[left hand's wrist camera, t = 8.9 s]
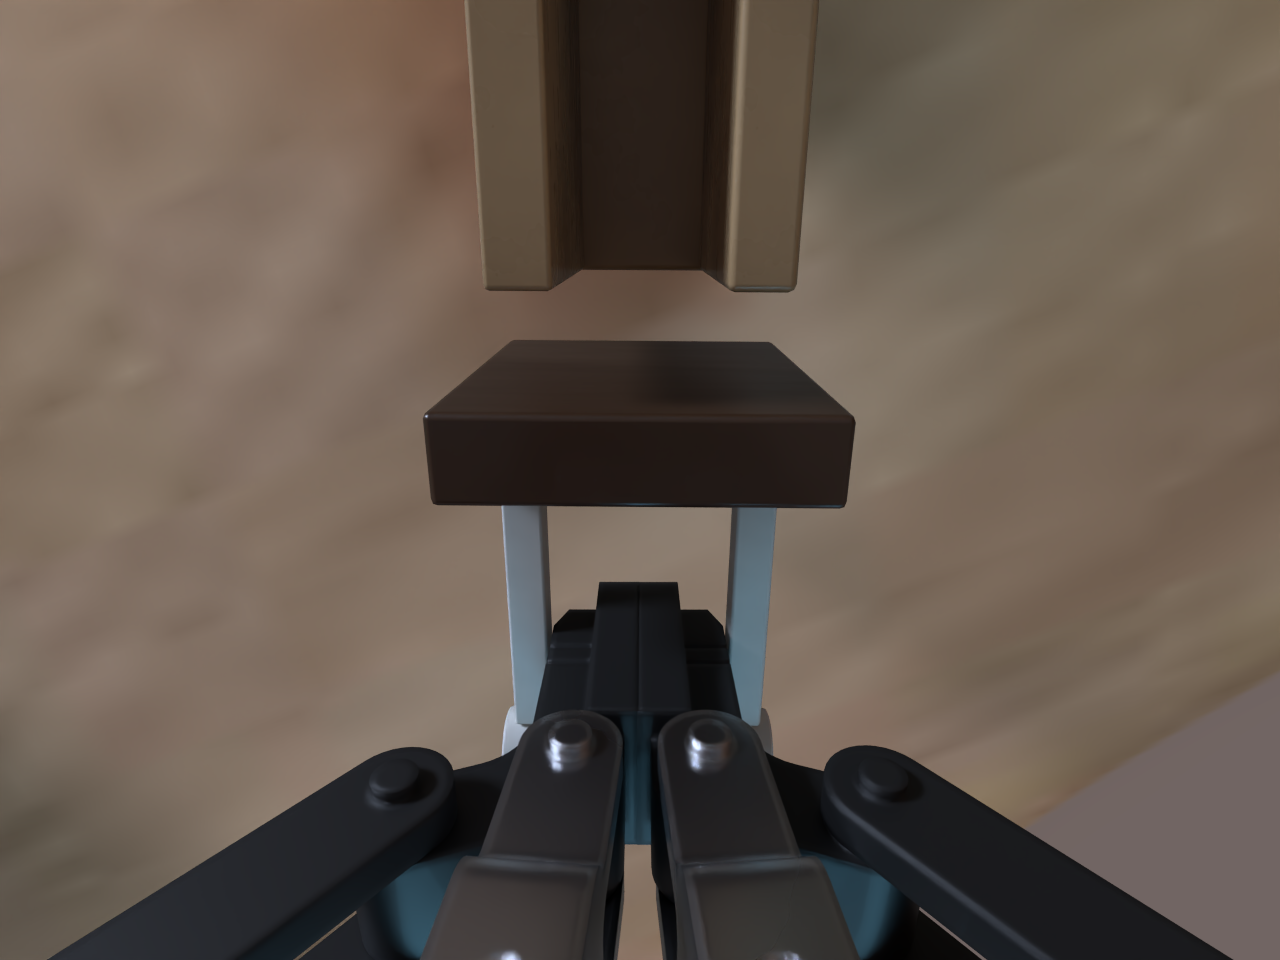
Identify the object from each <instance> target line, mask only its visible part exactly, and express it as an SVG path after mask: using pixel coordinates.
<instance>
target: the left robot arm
mask: <svg viewBox="0 0 1280 960" xmlns="http://www.w3.org/2000/svg"><path fill="white" fill-rule="evenodd" d="M625 844H637V845H651V868H652V875H653V878H654V881H655V883H656V903H657V911H658V920H659V929H660V938H661V946H662V955H663V960H981V959H980V958H979V957H978V956H976V955H975V954H974V953H973V952H971V951H970V950H969V949H968V948H966V947H965V946H964V945H963V944H961V943H960V942H959V941H958V940H956V939H955V938H954V937H953V936H951V935H950V934H949V933H947V932H946V931H945V930H944V929H942V928H941V927H940V926H939V925H937V924H936V923H935V922H934V921H932V920H931V919H930V918H929V917H927V916H926V915H925V914H923V913H922V912H921V911H920V910H919V907H921V908H922V909H923V910H925V911H926V912H927V913H928V914H930V915H931V916H932V917H934V918H935V919H936V920H937V921H939V922H940V923H941V924H942V925H944V926H945V927H946V928H947V929H949V930H950V931H951V932H953V933H954V934H955V935H956V936H958V937H959V938H960V939H962V940H963V941H964V942H965V943H967V944H968V945H969V946H970V947H972V948H973V949H974V950H975V951H977V952H978V953H979V954H981V955H982V956H983V957H984V958H986V959H987V960H1233V959H1231V958H1230V957H1228V956H1226V955H1225V954H1223V953H1222V952H1220V951H1218V950H1217V949H1215V948H1214V947H1212V946H1210V945H1209V944H1207V943H1205V942H1204V941H1202V940H1201V939H1199V938H1198V937H1196V936H1194V935H1193V934H1191V933H1190V932H1188V931H1186V930H1185V929H1183V928H1182V927H1180V926H1178V925H1177V924H1175V923H1174V922H1172V921H1170V920H1169V919H1167V918H1166V917H1164V916H1162V915H1161V914H1159V913H1158V912H1156V911H1154V910H1153V909H1151V908H1150V907H1148V906H1146V905H1145V904H1143V903H1142V902H1140V901H1138V900H1137V899H1135V898H1134V897H1132V896H1130V895H1129V894H1127V893H1126V892H1124V891H1122V890H1121V889H1119V888H1118V887H1116V886H1114V885H1113V884H1111V883H1110V882H1108V881H1106V880H1105V879H1103V878H1102V877H1100V876H1098V875H1097V874H1095V873H1094V872H1092V871H1090V870H1089V869H1087V868H1085V867H1084V866H1082V865H1081V864H1079V863H1078V862H1076V861H1074V860H1073V859H1071V858H1070V857H1068V856H1066V855H1065V854H1063V853H1062V852H1060V851H1058V850H1057V849H1055V848H1054V847H1052V846H1050V845H1049V844H1047V843H1045V842H1044V841H1042V840H1041V839H1039V838H1038V837H1036V836H1034V835H1033V834H1031V833H1030V832H1028V831H1026V830H1025V829H1023V828H1022V827H1020V826H1018V825H1017V824H1015V823H1014V822H1012V821H1010V820H1009V819H1007V818H1006V817H1004V816H1002V815H1001V814H999V813H998V812H996V811H994V810H993V809H991V808H990V807H988V806H986V805H985V804H983V803H982V802H980V801H978V800H977V799H975V798H974V797H972V796H970V795H969V794H967V793H966V792H964V791H962V790H961V789H959V788H957V787H956V786H954V785H953V784H951V783H949V782H948V781H946V780H945V779H943V778H941V777H940V776H938V775H937V774H935V773H933V772H932V771H930V770H929V769H927V768H925V767H924V766H922V765H921V764H919V763H917V762H916V761H914V760H913V759H911V758H909V757H907V756H905V755H903V754H901V753H899V752H896V751H894V750H890V749H887V748H883V747H878V746H868V745H864V746H853V747H848V748H845V749H843V750H840V751H839V752H837V753H835V754H834V755H833V756H832V757H831V758H830V759H829V760H828V762H827V763H826V766H825V769H824V771H821V770H817V769H812V768H808V767H804V766H800V765H796V764H793V763H789V762H786V761H783V760H781V759H778V758H776V757H774V756H772V755H771V754H769V753H767V752H766V751H764V748H763V745H762V742H761V740H760V738H759V736H758V734H757V733H756V731H755V730H754V729H753V728H752V727H751V726H750V725H749V724H748V723H746V722H745V721H743V720H742V717H741V712H740V707H739V702H738V697H737V693H736V688H735V683H734V678H733V673H732V668H731V664H730V659H729V654H728V649H727V644H726V639H725V634H724V630H723V626H722V625H721V623H720V622H719V621H718V620H717V619H716V618H715V617H714V616H713V615H712V614H711V613H710V612H709V611H708V610H680V600H679V591H678V583H677V582H599V589H598V598H597V606H596V610H568V612H567V613H566V614H565V615H564V616H563V617H562V618H561V619H560V620H559V621H558V622H557V623H556V624H555V625H554V628H553V633H552V637H551V642H550V648H549V651H548V656H547V664H546V665H545V670H544V674H543V679H542V684H541V688H540V693H539V697H538V702H537V707H536V711H535V716H534V721H533V724H531V725H530V726H529V727H528V728H527V729H526V730H525V732H524V733H523V734H522V736H521V738H520V741H519V743H518V746H517V747H515V748H514V749H512V750H511V751H510V752H508V753H506V754H504V755H503V756H501V757H499V758H496V759H494V760H491V761H488V762H485V763H482V764H478V765H474V766H470V767H466V768H461V769H457V770H453V769H452V766H451V764H450V762H449V761H448V760H447V759H446V758H445V757H444V756H443V755H441V754H440V753H438V752H436V751H433V750H431V749H427V748H421V747H405V748H398V749H393V750H390V751H386V752H383V753H381V754H378V755H376V756H373V757H372V758H370V759H368V760H366V761H364V762H363V763H361V764H360V765H358V766H356V767H355V768H353V769H352V770H350V771H348V772H347V773H345V774H344V775H342V776H340V777H339V778H337V779H336V780H334V781H332V782H331V783H329V784H328V785H326V786H324V787H323V788H321V789H320V790H318V791H316V792H315V793H313V794H312V795H310V796H308V797H307V798H305V799H304V800H302V801H300V802H299V803H297V804H296V805H294V806H292V807H291V808H289V809H288V810H286V811H284V812H283V813H281V814H280V815H278V816H276V817H275V818H273V819H272V820H270V821H268V822H267V823H265V824H264V825H262V826H260V827H259V828H257V829H256V830H254V831H252V832H251V833H249V834H248V835H246V836H244V837H243V838H241V839H240V840H238V841H236V842H235V843H233V844H232V845H230V846H228V847H227V848H225V849H224V850H222V851H220V852H219V853H217V854H216V855H214V856H212V857H211V858H209V859H207V860H206V861H204V862H203V863H201V864H199V865H198V866H196V867H195V868H193V869H191V870H190V871H188V872H187V873H185V874H183V875H182V876H180V877H179V878H177V879H175V880H174V881H172V882H171V883H169V884H167V885H166V886H164V887H163V888H161V889H159V890H158V891H156V892H155V893H153V894H151V895H150V896H148V897H147V898H145V899H143V900H142V901H140V902H139V903H137V904H135V905H134V906H132V907H131V908H129V909H127V910H126V911H124V912H123V913H121V914H119V915H118V916H116V917H115V918H113V919H111V920H110V921H108V922H107V923H105V924H103V925H102V926H100V927H99V928H97V929H95V930H94V931H92V932H91V933H89V934H87V935H86V936H84V937H83V938H81V939H79V940H78V941H76V942H75V943H73V944H71V945H70V946H68V947H67V948H65V949H63V950H62V951H60V952H59V953H57V954H55V955H54V956H52V957H51V958H49V959H47V960H293V959H295V958H296V957H297V956H299V955H300V954H301V953H302V952H304V951H305V950H306V949H307V948H309V947H310V946H311V945H312V944H314V943H315V942H316V941H318V940H319V939H320V938H321V937H323V936H324V935H325V934H326V933H328V932H329V931H330V930H332V929H333V928H334V927H335V926H337V925H338V924H339V923H340V922H342V921H343V920H344V919H345V918H347V917H348V916H349V915H351V914H352V913H353V912H354V911H356V912H357V914H355V915H354V916H353V917H352V918H350V919H349V920H348V921H347V922H345V923H344V924H343V925H342V926H340V927H339V928H338V929H337V930H335V931H334V932H333V933H332V934H330V935H329V936H328V937H326V938H325V939H324V940H323V941H321V942H320V943H319V944H318V945H316V946H315V947H314V948H313V949H311V950H310V951H309V952H308V953H306V954H305V955H304V956H302V957H301V958H300V959H299V960H617V957H618V949H619V940H620V931H621V922H622V914H623V905H624V850H625Z"/></svg>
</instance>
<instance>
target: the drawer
mask: <svg viewBox="0 0 1280 960" xmlns="http://www.w3.org/2000/svg"><path fill="white" fill-rule="evenodd" d="M464 5H465V20H466V35H467V50H468V65H469V80H470V95H471V110H472V125H473V140H474V155H475V170H476V185H477V200H478V215H479V230H480V245H481V260H482V275H483V285H484V287H485V289H487V290H489V291H548V290H551V289H552V288H554V287H556V286H557V285H559V284H560V283H562V282H563V281H565V280H566V279H568V278H569V277H571V276H573V275H574V274H576V273H577V272H579V271H580V270H703V271H704V272H705V273H707V274H708V275H710V276H711V277H712V278H714V279H715V280H717V281H718V282H719V283H721V284H722V285H724V286H725V287H726V288H728V289H729V290H731V291H734V292H790V291H793V290H794V289H795V287H796V285H797V275H798V262H799V250H800V237H801V224H802V211H803V199H804V186H805V173H806V161H807V148H808V135H809V123H810V110H811V97H812V85H813V72H814V59H815V47H816V34H817V21H818V8H819V0H464ZM423 424H424V434H425V444H426V454H427V464H428V474H429V484H430V494H431V500H432V502H433V504H436V505H479V506H502V519H503V535H504V550H505V566H506V581H507V597H508V612H509V627H510V643H511V658H512V674H513V689H514V705H515V706H512V707H510V709H509V711H508V714H507V717H506V721H505V727H504V734H503V745H502V756H503V755H504V754H506V753H508V752H510V751H511V750H512V749H514V748H515V747H517V746H518V743H519V741H520V738H521V736H522V734H523V733H524V732H525V730H526V729H527V728H528V727H529V726H530V725H531V724H533V721H534V716H535V711H536V707H537V702H538V697H539V693H540V688H541V684H542V679H543V674H544V670H545V665H546V664H547V656H548V651H549V648H550V642H551V637H552V620H551V596H550V572H549V548H548V524H547V506H602V507H725V508H732V518H731V536H730V555H729V573H728V592H727V610H726V628H725V639H726V644H727V649H728V654H729V659H730V664H731V668H732V673H733V678H734V683H735V688H736V693H737V697H738V702H739V707H740V712H741V717H742V720H743V721H745V722H746V723H748V724H749V725H750V726H751V727H752V728H753V729H754V730H755V731H756V733H757V734H758V736H759V738H760V740H761V742H762V745H763V748H764V751H766V752H767V753H769V754H771V755H772V756H773V741H772V731H771V724H770V720H769V716H768V713H767V711H766V709H764V708H761V705H762V692H763V679H764V666H765V653H766V640H767V627H768V615H769V602H770V589H771V576H772V563H773V550H774V537H775V524H776V511H777V508H843V507H844V506H845V504H846V502H847V494H848V486H849V477H850V468H851V459H852V450H853V441H854V433H855V424H856V422H855V419H854V417H853V416H852V415H851V414H850V413H849V412H848V411H847V410H846V409H845V408H843V407H842V406H841V405H840V404H839V403H838V402H837V401H836V400H834V399H833V398H832V397H831V396H830V395H829V394H828V393H827V392H826V391H824V390H823V389H822V388H821V387H820V386H819V385H818V384H817V383H816V382H814V381H813V380H812V379H811V378H810V377H809V376H808V375H807V374H806V373H804V372H803V371H802V370H801V369H800V368H799V367H798V366H797V365H795V364H794V363H793V362H792V361H791V360H790V359H789V358H788V357H787V356H785V355H784V354H783V353H782V352H781V351H780V350H779V349H778V348H777V347H775V346H774V345H773V344H772V343H770V342H707V341H569V340H513V341H511V342H510V343H508V344H507V345H506V346H505V347H504V348H502V349H501V350H500V351H499V352H498V353H496V354H495V355H494V356H493V357H492V358H490V359H489V360H488V361H487V362H486V363H484V364H483V365H482V366H481V367H480V368H479V369H477V370H476V371H475V372H474V373H473V374H471V375H470V376H469V377H468V378H467V379H465V380H464V381H463V382H462V383H461V384H459V385H458V386H457V387H456V388H455V389H454V390H452V391H451V392H450V393H449V394H448V395H446V396H445V397H444V398H443V399H442V400H440V401H439V402H438V403H437V404H436V405H434V406H433V407H432V408H431V409H430V410H429V411H427V412H426V413H425V414H424V418H423Z"/></svg>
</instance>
